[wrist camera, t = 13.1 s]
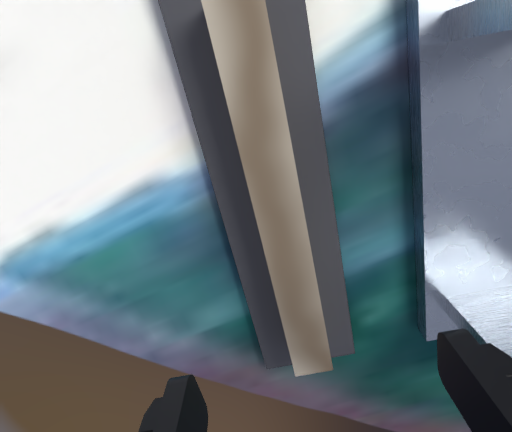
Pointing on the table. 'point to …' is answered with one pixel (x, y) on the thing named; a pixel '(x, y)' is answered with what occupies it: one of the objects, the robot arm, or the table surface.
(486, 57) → the hook rack
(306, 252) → the birch rail
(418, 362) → the table surface
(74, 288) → the table surface
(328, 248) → the rubber mat
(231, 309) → the table surface
